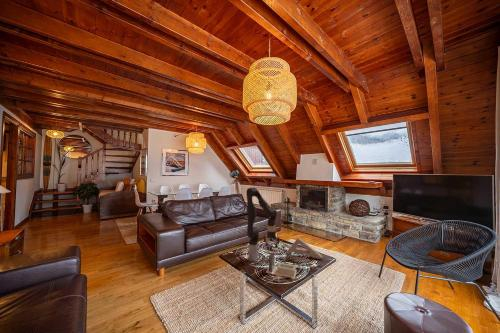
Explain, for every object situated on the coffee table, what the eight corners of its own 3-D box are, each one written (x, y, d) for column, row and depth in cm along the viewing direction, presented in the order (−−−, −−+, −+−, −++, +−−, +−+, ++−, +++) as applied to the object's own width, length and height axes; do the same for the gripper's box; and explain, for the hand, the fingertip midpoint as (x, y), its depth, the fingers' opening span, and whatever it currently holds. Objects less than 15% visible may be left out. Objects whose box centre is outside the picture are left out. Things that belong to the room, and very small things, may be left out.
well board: (265, 273, 178) (265, 266, 178) (269, 265, 191) (269, 259, 191) (294, 279, 168) (294, 272, 168) (296, 270, 182) (296, 264, 181)
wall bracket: (309, 272, 207) (286, 253, 214) (309, 270, 211) (286, 251, 218) (322, 257, 202) (298, 238, 210) (322, 255, 206) (298, 237, 214)
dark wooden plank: (272, 272, 178) (271, 257, 178) (268, 271, 179) (268, 256, 179) (274, 267, 187) (274, 252, 186) (271, 266, 188) (271, 252, 187)
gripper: (263, 230, 181) (263, 247, 181) (278, 232, 176) (278, 250, 176) (265, 227, 188) (265, 244, 188) (279, 229, 183) (279, 246, 183)
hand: (271, 247), depth 182 cm, fingers open, 8 cm apart
